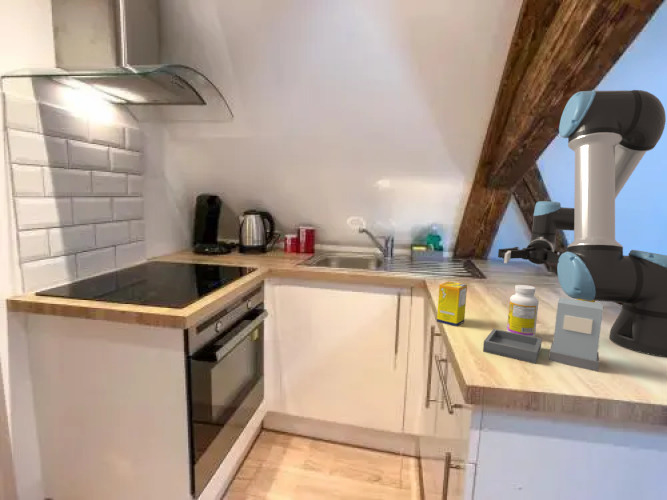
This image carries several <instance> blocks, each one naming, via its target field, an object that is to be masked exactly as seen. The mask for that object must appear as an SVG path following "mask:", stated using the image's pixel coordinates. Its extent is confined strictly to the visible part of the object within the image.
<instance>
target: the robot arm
mask: <svg viewBox="0 0 667 500" xmlns="http://www.w3.org/2000/svg"><path fill="white" fill-rule="evenodd" d="M666 117H667V116H666V111H665V107H664V106H663V103H662V102H661V100H660V99H659V98H658V97H657V96H656V95H654V94H653V93H651V92H649V91H646V90H641V89H640V90H639V89H632V90H596V89H592V90H585V91H582V90H581V91H578V92H575V93H574V94H572V96H571V97H570V98H569V99H568V101H567V102H566V105H565V107H564V109H563V111H562V114H561V117H560V121H559V127H558V132H559V136H560V137H561V138H563V139H568V140H567V143H568V144H567V146H568V148H569V149H570V150H572V151H573V152H574V201H573V202H574V206H573V207H574V208H573V207H561V206H562V205H561V202H559V201H548V200H542V201H540V200H539V201H537V202H536V203H535V206H534V211H533V217H532V218H533V220H532V227H531V235H530V243H528V245H527V246H526V247H523V248H522V249H520V247H518V246H514V247H508V248H499V249H498V250H497V251H498V253H497V258H500V259H503V264H508V263H509V262H510V260H511V259H522V260H525V261H527V260H528V262H530V263H532V264H535V265H544V264H547V263H554V264H557V266H556V267H557V268H556V269H557V279H558V282H559V285H560V287H561V289H562V292H564V294H565V295H567V296H568V298H569V297H570V299H575V300H576V299H583V300H586V301H592V300H593V301H595V302H606V303H607V302H611V303H622V305H621V306H622V307H621V310H620V313H618V316H617V318H616V320H615V321H614V323H613V325H612V326H611V327H610V331H609V335H608V337H609V340H610V342H612V343H614V344H617V345H618V346H620V347H623V348H625V349H628V350H631V351H635V352H639V353H642V352H643V354H647V353H649V354H648V355H652V354H654V355H653V356H657V355H661V356H660V357H667V255H666V254H659V253H654V252H649V251H644V250H639V249H638V250H637V249H631V250H630V251H629V253H628V254H627V255H624V246H623V245H622V244H621V243H619V242H618V241H617V240H616V199H617V197H618V196H619V194H620V193H621V191H622V190H623V188H624V187H625V185H626V183H627V182H628V180H629V179H630V177H631V175H632V174H633V173H634V171H635V170H636V168H637V166H638V165H639V163H640V161H641V160H642V159H643V157H644V156H645V154H646V152H649V151H652V150H653V149H655V147H656V146H657V144H658V142H659V141H660V139H661V138H662V136H663V133H664V131H665V126H666V119H667V118H666ZM558 231H574V232H573V233H574V234H573V235H574V236H573V241H572V242H571V243H569V244H568V245H567V248H566V251H565V252H564V251H558V252H557V253H555V251H556V247H557V246H556V240H557V232H558Z"/></svg>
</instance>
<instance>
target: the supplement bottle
mask: <svg viewBox="0 0 667 500" xmlns="http://www.w3.org/2000/svg"><path fill="white" fill-rule="evenodd" d="M514 292H515V293H514V294H512V295H511V296H510V297H509V306H508V315H507V317H508V318H507V326H506V328H507V329H506V331H508V332H513V333H518V334H523V335H527V336H532V337H536V329H537V319H538V311H539V300H538V298H537V297H536V296H535V294H536V287H535V286H532V285H526V284H515V288H514Z"/></svg>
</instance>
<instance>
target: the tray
mask: <svg viewBox="0 0 667 500" xmlns="http://www.w3.org/2000/svg"><path fill="white" fill-rule="evenodd" d="M542 341H543V338H542V337H537V336H534V337H532V336H527V335H523V334H518V333H513V332H508V331H507V330H502V329H496V328H493V329H492V330H491V331H490V333H488V335H487V337H486V338H485V339H484V341H483V349H482V351H483V352H484V353H488V354H491V355H497V356H501V357H506V358H510V359H514V360H518V361H523V362H526V363H530V364H535V365H536V364H537V361H538V358H539V356H540V352H541V349H542Z"/></svg>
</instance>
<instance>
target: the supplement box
mask: <svg viewBox="0 0 667 500" xmlns="http://www.w3.org/2000/svg"><path fill="white" fill-rule="evenodd" d="M438 285H439V288H438V298H437V299H438V301H437V314H436V322H437V323H441V324H446V325H448V326H453V327H458V326H460V325H461V324H463V323H465V316H466V314H465V313H466V302H467V290H468V284H465V283H459V282H455V281H446V282H443V283H442V282H441V283H440V284H438Z"/></svg>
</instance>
